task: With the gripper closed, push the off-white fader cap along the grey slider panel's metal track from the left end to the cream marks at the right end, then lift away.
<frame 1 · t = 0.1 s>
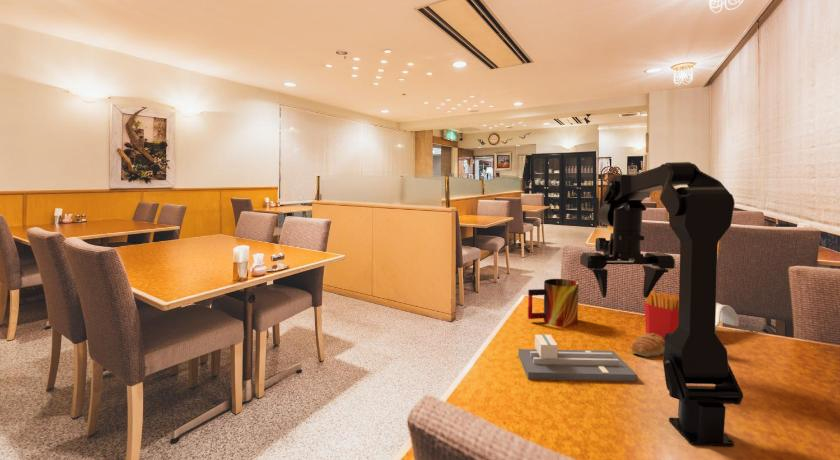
hand: (624, 297, 90), 15 cm above the table, fingers open, 9 cm apart
spoon rest: (703, 331, 108), on the table
grey slider panel: (572, 367, 87), on the table
pastry: (648, 352, 95), on the table
french fries: (660, 342, 100), on the table
fader: (545, 349, 87), point 4 cm above the table, slide at 6.0 cm
mug: (555, 323, 116), on the table
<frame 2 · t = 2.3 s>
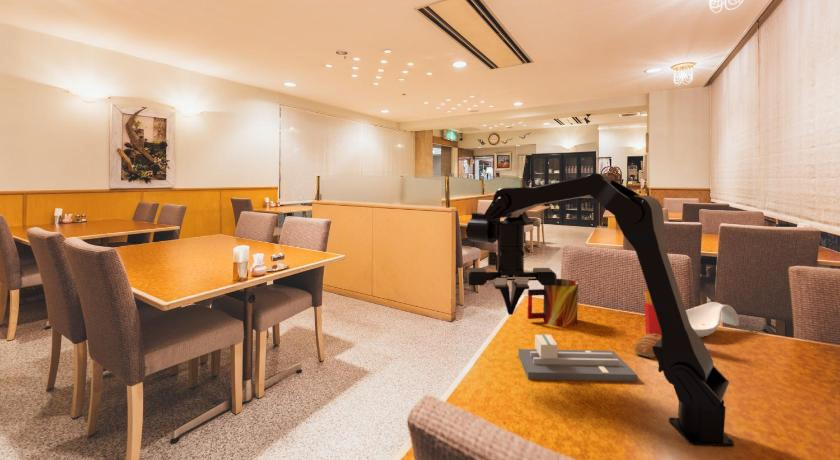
hand: (510, 314, 87), 12 cm above the table, fingers closed
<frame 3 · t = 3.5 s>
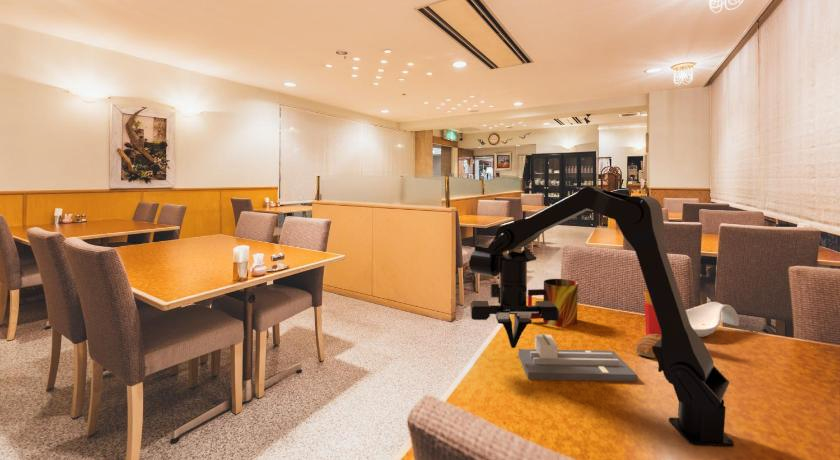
hand: (512, 347, 87), 4 cm above the table, fingers closed
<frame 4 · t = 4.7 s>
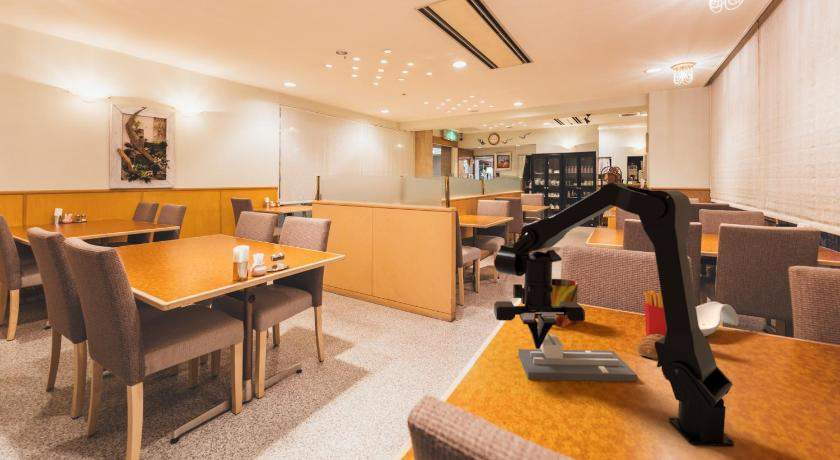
hand: (537, 348, 87), 4 cm above the table, fingers closed
fader: (551, 349, 87), point 4 cm above the table, slide at 4.8 cm, touching gripper
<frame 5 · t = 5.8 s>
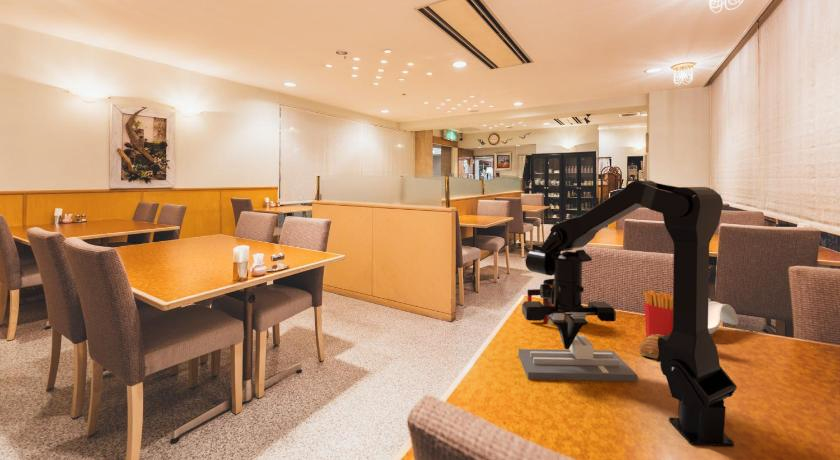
hand: (566, 348, 86), 4 cm above the table, fingers closed
fader: (580, 350, 86), point 4 cm above the table, slide at -1.5 cm, touching gripper
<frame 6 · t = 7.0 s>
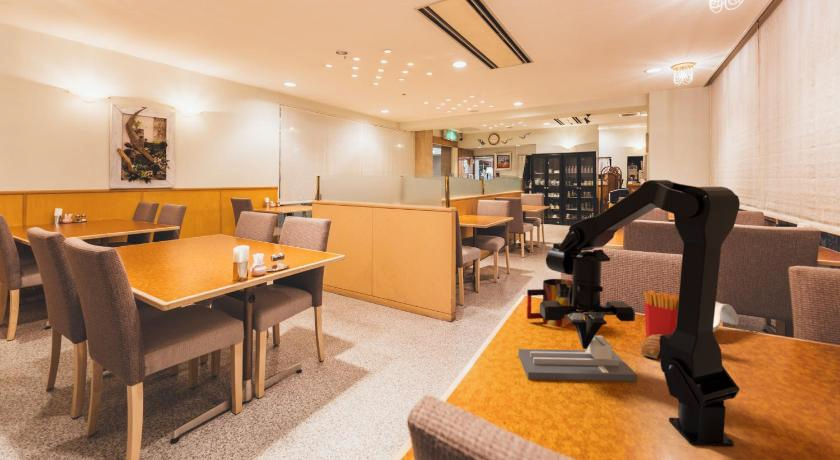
hand: (584, 348, 86), 4 cm above the table, fingers closed
fader: (598, 350, 86), point 4 cm above the table, slide at -5.4 cm, touching gripper
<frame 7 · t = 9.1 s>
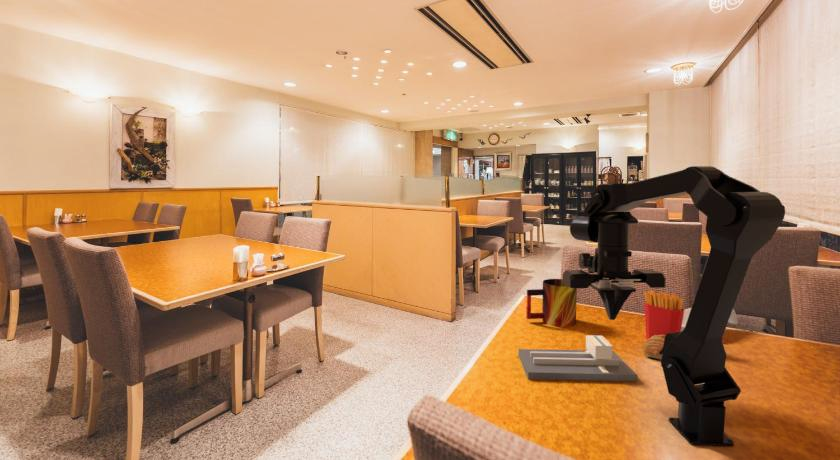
hand: (611, 319, 81), 13 cm above the table, fingers closed
fader: (598, 350, 86), point 4 cm above the table, slide at -5.4 cm
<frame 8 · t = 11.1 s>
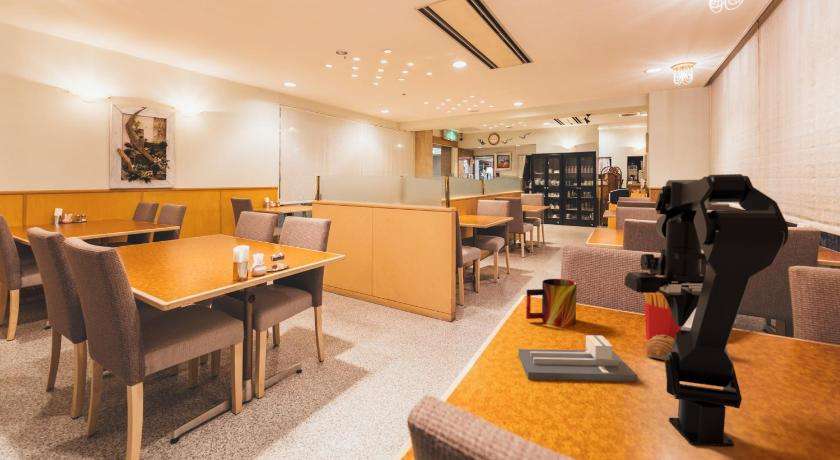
hand: (679, 325, 75), 13 cm above the table, fingers closed
at the end: fader slide at -5.4 cm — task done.
